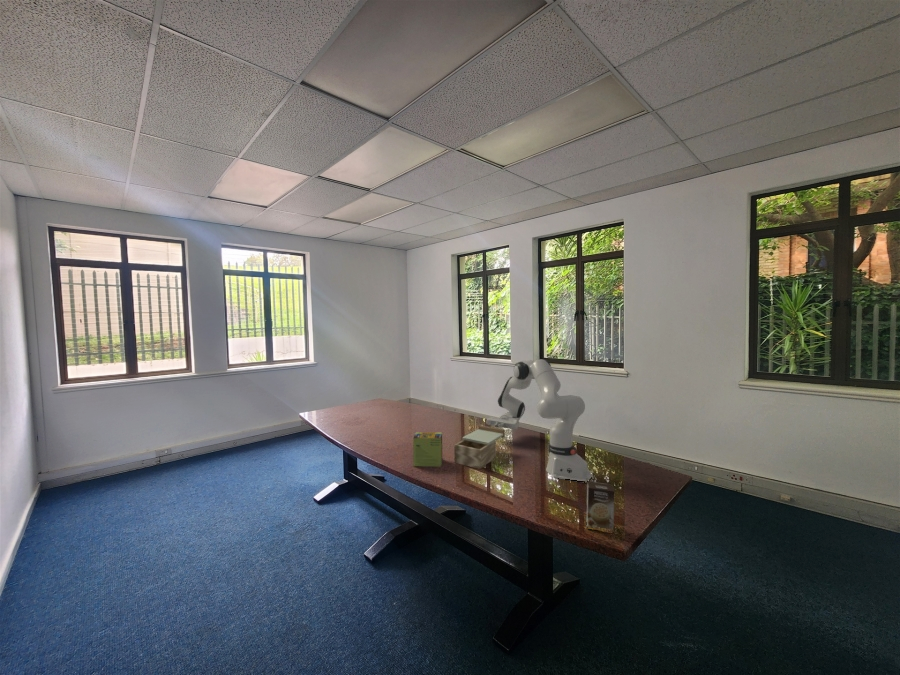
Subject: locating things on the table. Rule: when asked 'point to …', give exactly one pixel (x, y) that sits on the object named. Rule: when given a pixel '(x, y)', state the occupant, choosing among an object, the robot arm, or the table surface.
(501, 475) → the table surface
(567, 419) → the robot arm
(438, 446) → the protein box
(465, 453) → the crate
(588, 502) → the coffee box
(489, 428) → the lid
